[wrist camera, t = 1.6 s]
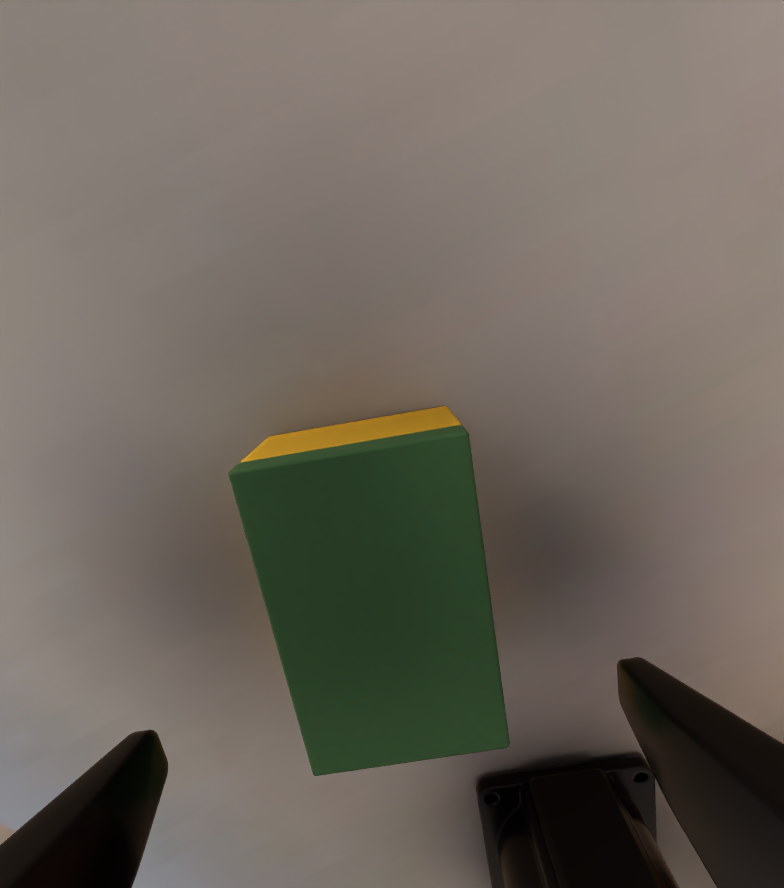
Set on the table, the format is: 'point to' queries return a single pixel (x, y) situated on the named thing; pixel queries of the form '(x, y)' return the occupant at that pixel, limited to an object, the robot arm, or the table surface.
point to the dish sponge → (377, 588)
